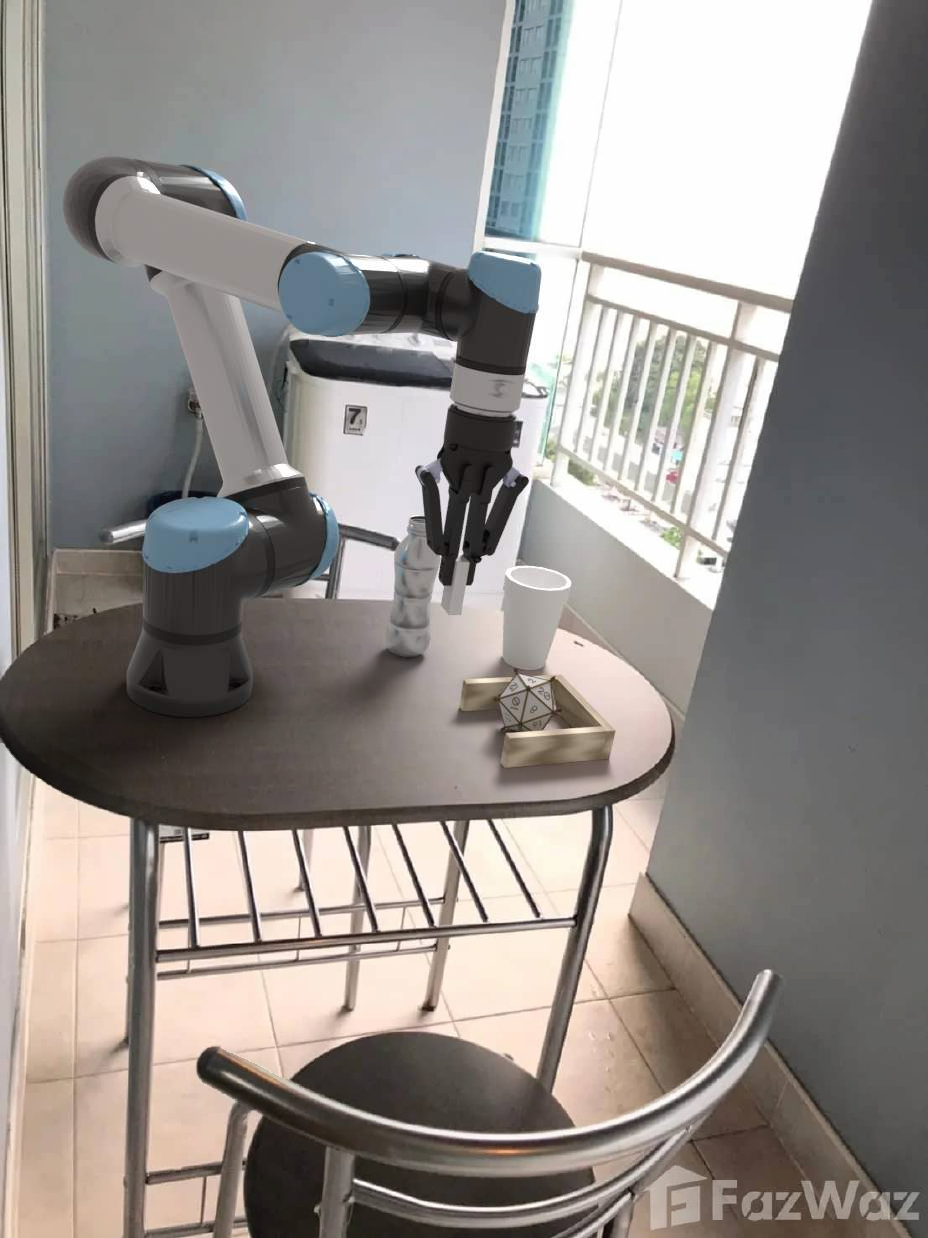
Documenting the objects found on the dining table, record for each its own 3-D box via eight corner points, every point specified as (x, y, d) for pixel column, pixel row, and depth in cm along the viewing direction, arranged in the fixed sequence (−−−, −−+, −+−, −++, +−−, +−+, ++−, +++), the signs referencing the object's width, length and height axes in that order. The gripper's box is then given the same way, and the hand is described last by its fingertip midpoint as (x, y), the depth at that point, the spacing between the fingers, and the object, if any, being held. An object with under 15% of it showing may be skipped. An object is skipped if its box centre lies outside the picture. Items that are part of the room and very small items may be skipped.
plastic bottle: (437, 653, 145) (455, 521, 138) (410, 667, 140) (428, 530, 132) (401, 638, 148) (417, 508, 141) (373, 651, 143) (388, 517, 135)
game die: (529, 753, 130) (583, 698, 129) (521, 762, 121) (579, 704, 120) (480, 704, 131) (533, 649, 130) (468, 710, 123) (525, 651, 121)
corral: (504, 767, 118) (509, 738, 117) (459, 706, 131) (463, 679, 130) (609, 758, 124) (615, 730, 122) (556, 701, 136) (561, 674, 135)
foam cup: (551, 680, 142) (567, 595, 137) (487, 666, 144) (501, 582, 139) (558, 654, 151) (574, 573, 146) (498, 641, 152) (511, 561, 147)
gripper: (438, 412, 101) (407, 624, 111) (553, 420, 106) (514, 623, 116) (414, 394, 108) (387, 597, 117) (524, 403, 113) (490, 596, 122)
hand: (450, 609), depth 116 cm, fingers closed
